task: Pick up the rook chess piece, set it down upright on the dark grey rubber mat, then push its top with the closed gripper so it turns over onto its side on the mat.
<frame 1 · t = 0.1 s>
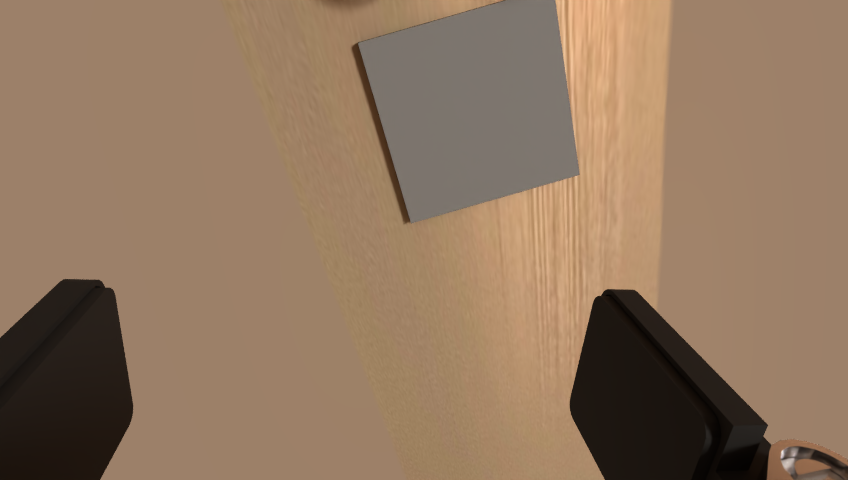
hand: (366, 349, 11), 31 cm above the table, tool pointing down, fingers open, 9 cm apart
mat: (475, 112, 40), on the table
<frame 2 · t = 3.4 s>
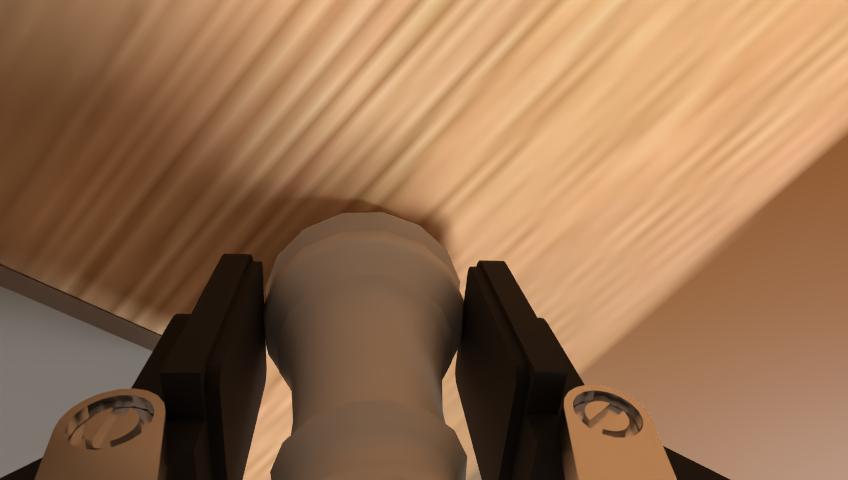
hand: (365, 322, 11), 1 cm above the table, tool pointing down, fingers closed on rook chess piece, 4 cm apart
rook chess piece: (364, 287, 13), on the table, touching gripper
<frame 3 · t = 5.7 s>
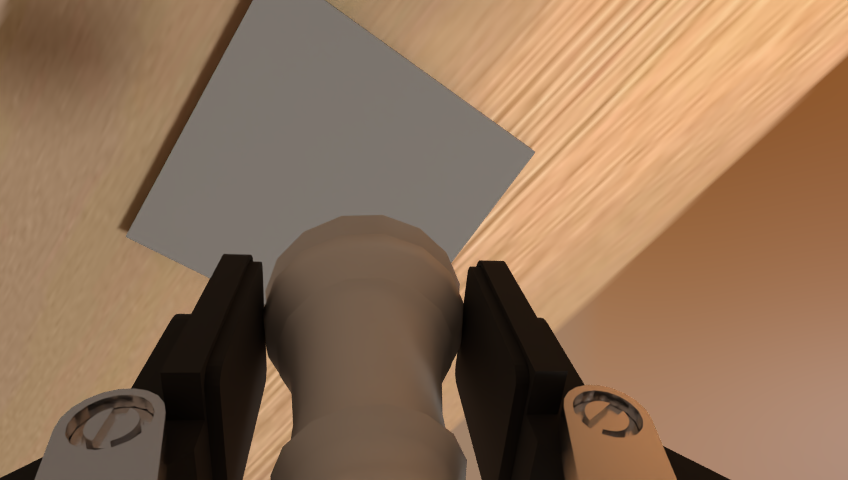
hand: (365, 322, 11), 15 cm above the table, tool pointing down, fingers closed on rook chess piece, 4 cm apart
rook chess piece: (364, 290, 13), point 14 cm above the table, touching gripper
mat: (333, 189, 26), on the table
when the fingers open (3 cm above the table, at t = 8.3 s): rook chess piece stays where it is, resting on mat.
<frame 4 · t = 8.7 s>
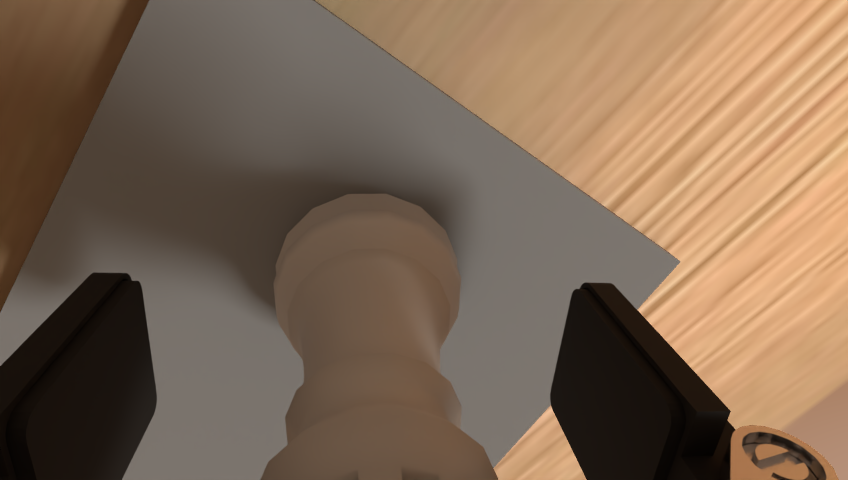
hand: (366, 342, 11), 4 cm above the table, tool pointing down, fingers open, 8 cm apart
rook chess piece: (367, 266, 14), resting on mat
mat: (324, 327, 15), on the table
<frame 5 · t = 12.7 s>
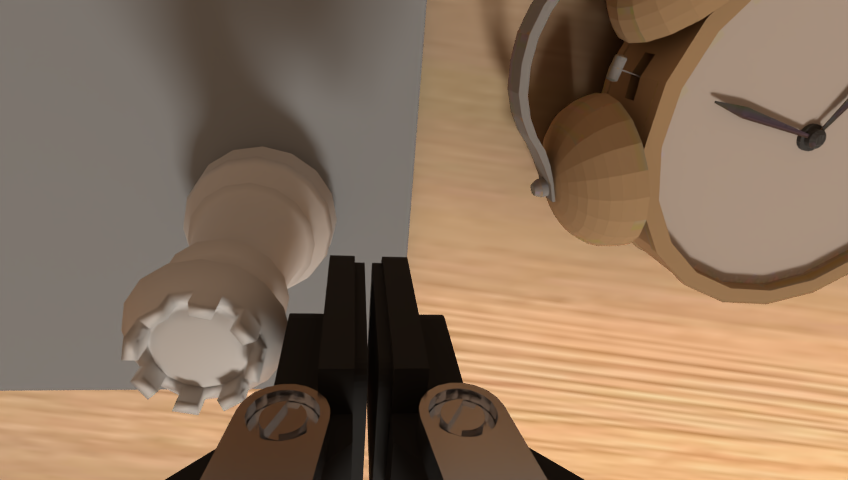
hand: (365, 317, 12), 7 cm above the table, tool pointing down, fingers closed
rook chess piece: (268, 208, 17), resting on mat, touching gripper
mat: (195, 204, 18), on the table
alarm clock: (694, 100, 19), on the table
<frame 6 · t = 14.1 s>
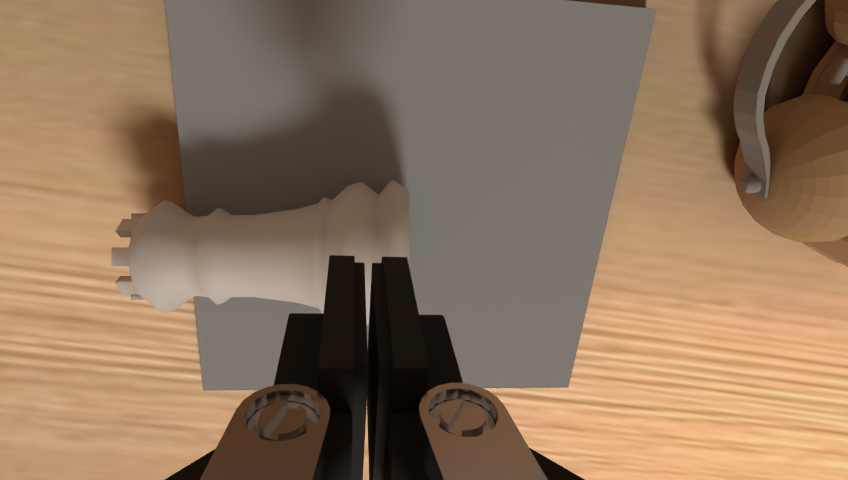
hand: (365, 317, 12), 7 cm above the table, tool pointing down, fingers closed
rook chess piece: (416, 255, 16), point 3 cm above the table, touching mat
mat: (405, 212, 18), on the table
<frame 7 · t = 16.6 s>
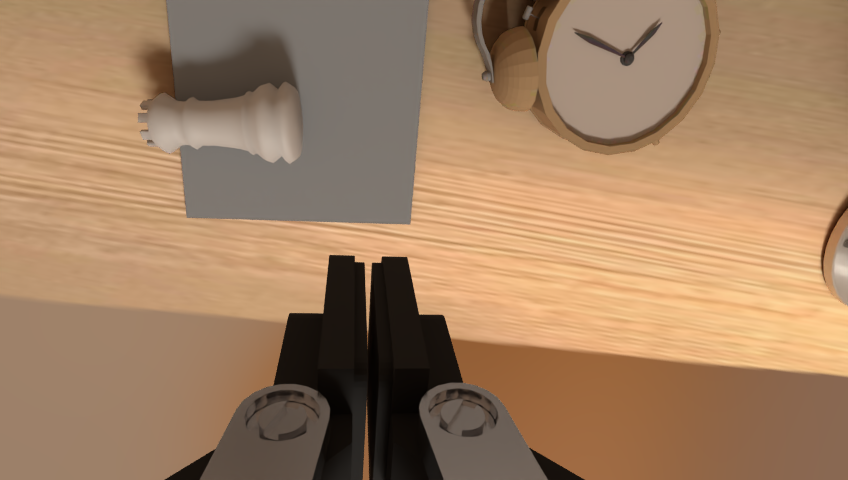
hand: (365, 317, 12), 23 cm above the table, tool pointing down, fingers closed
rook chess piece: (300, 123, 30), point 3 cm above the table, touching mat
mat: (302, 109, 32), on the table
alarm clock: (576, 41, 33), on the table
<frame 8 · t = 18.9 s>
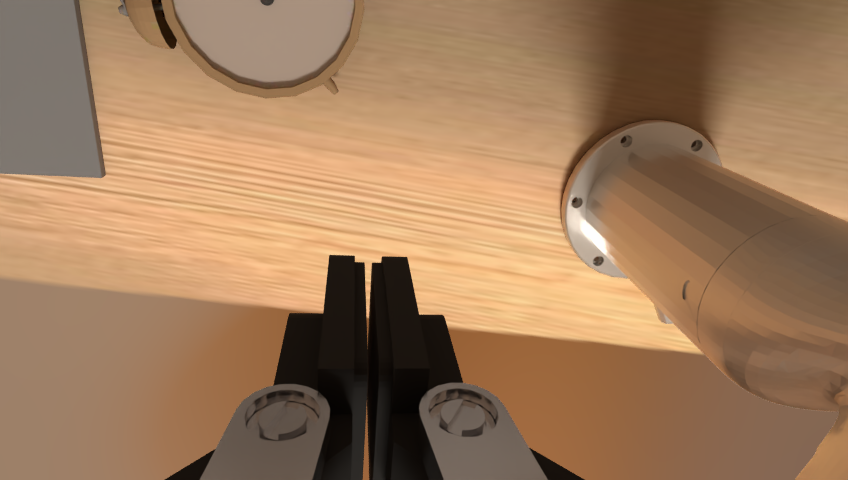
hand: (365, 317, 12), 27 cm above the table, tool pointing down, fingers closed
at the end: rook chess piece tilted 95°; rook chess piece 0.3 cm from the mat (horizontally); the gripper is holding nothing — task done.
